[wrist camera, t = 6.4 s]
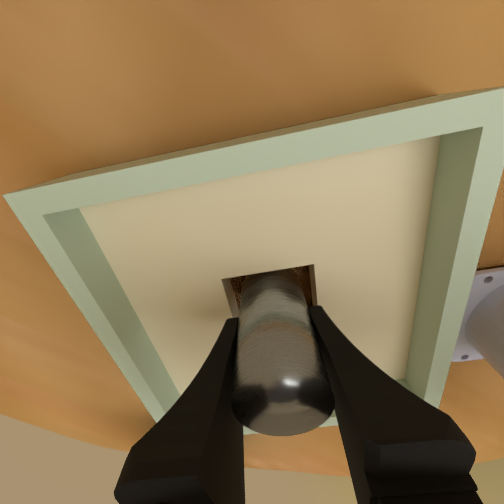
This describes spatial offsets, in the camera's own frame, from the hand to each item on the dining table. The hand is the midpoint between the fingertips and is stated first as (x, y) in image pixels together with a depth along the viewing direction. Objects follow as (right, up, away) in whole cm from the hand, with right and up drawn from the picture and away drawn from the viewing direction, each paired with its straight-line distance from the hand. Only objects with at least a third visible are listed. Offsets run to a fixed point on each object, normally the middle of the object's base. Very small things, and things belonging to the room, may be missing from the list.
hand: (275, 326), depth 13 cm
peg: (0, +2, +2) cm, 2 cm away
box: (0, +2, +3) cm, 3 cm away
